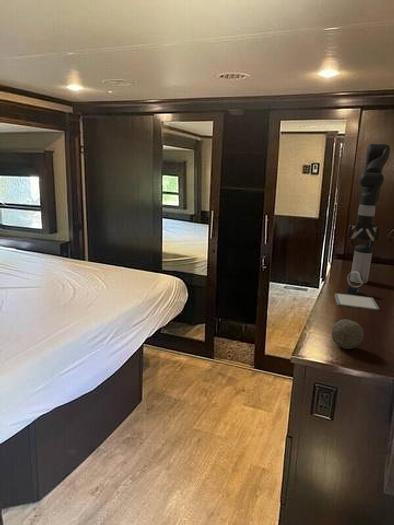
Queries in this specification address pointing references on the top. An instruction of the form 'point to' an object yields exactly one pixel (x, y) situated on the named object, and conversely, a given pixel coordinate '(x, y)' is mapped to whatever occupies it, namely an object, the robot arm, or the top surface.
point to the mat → (356, 301)
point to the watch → (352, 288)
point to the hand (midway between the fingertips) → (360, 246)
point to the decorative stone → (347, 334)
